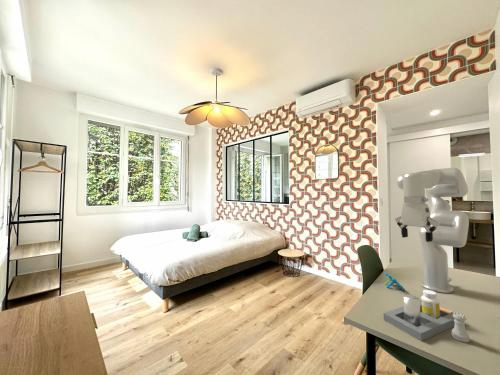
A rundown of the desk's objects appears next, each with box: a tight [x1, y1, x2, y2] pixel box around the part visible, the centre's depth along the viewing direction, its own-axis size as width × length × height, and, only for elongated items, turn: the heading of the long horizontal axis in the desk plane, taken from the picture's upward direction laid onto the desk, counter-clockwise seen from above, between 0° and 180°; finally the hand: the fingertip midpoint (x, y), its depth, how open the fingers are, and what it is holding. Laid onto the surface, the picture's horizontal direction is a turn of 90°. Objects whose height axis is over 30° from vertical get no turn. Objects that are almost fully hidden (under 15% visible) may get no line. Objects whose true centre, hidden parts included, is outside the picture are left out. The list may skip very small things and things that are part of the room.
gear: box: [384, 271, 405, 291], centre depth 108 cm, size 11×6×10 cm
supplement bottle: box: [420, 289, 441, 319], centre depth 83 cm, size 5×5×10 cm
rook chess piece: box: [451, 312, 471, 343], centre depth 70 cm, size 4×4×8 cm
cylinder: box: [402, 294, 422, 327], centre depth 78 cm, size 5×5×10 cm
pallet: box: [383, 300, 455, 342], centre depth 80 cm, size 24×13×3 cm, turn 111°
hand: (416, 239), depth 93 cm, fingers open, 9 cm apart
